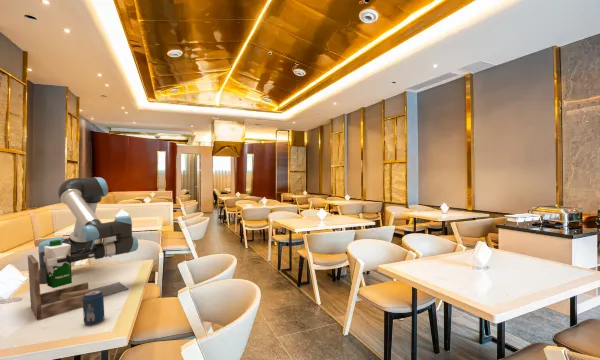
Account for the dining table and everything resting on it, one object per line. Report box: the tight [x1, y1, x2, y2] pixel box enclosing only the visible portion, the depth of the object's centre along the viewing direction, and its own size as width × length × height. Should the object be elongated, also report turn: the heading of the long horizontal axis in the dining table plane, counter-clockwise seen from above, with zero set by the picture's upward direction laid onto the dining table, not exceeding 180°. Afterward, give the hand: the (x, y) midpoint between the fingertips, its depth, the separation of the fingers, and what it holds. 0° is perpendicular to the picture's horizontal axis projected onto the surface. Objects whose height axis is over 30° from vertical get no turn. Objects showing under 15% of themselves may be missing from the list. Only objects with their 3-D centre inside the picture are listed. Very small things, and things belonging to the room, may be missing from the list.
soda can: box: [82, 290, 105, 326], centre depth 122 cm, size 7×7×12 cm
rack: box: [27, 254, 89, 321], centre depth 140 cm, size 22×20×24 cm
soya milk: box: [44, 240, 73, 289], centre depth 139 cm, size 9×9×20 cm
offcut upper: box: [59, 288, 91, 301], centre depth 143 cm, size 4×11×2 cm, turn 116°
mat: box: [90, 282, 129, 298], centre depth 156 cm, size 14×14×1 cm
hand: (45, 260), depth 135 cm, fingers closed on soya milk, 9 cm apart
